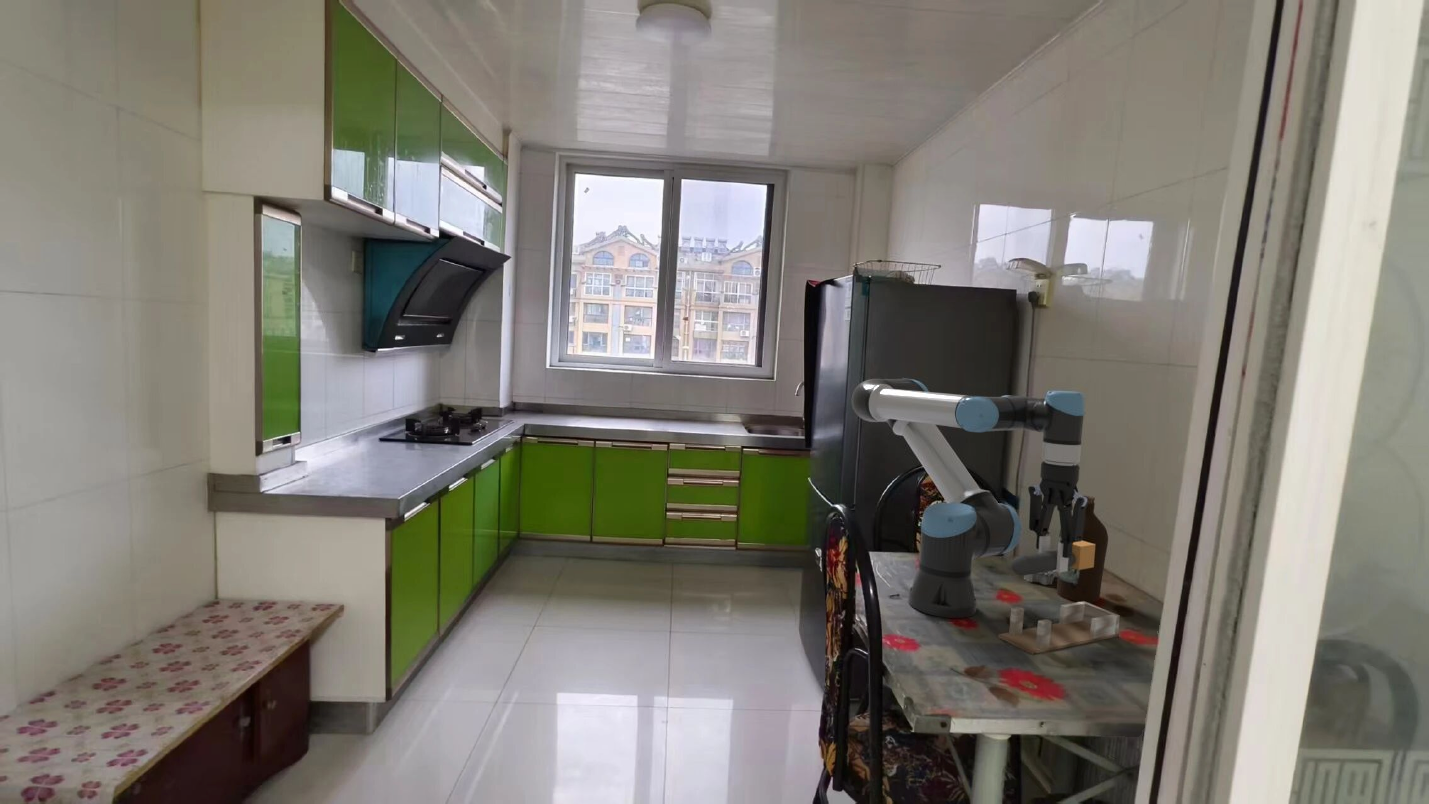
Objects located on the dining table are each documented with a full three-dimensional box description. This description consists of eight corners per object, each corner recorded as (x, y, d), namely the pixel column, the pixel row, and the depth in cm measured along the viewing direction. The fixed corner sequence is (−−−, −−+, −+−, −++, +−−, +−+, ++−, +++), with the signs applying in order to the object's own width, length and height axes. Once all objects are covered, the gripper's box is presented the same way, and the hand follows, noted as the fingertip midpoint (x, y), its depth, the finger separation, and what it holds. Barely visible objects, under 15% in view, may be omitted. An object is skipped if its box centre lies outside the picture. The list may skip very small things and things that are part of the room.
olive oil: (1078, 587, 185) (1087, 491, 182) (1112, 602, 175) (1122, 501, 172) (1044, 589, 182) (1053, 492, 179) (1077, 605, 172) (1087, 502, 169)
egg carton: (1028, 570, 198) (1029, 556, 197) (1058, 576, 193) (1059, 562, 193) (1020, 580, 189) (1021, 565, 188) (1051, 587, 185) (1053, 572, 184)
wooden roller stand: (1031, 654, 143) (1034, 625, 143) (997, 637, 151) (1000, 609, 151) (1118, 636, 155) (1121, 609, 154) (1083, 620, 162) (1085, 595, 162)
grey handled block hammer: (1024, 579, 150) (1026, 555, 150) (1004, 572, 155) (1006, 548, 154) (1093, 567, 161) (1095, 544, 160) (1073, 560, 165) (1075, 538, 165)
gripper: (1108, 468, 150) (1099, 578, 152) (1038, 455, 165) (1030, 555, 167) (1085, 470, 147) (1076, 582, 149) (1015, 456, 162) (1008, 559, 164)
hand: (1052, 567), depth 158 cm, fingers closed on grey handled block hammer, 4 cm apart
